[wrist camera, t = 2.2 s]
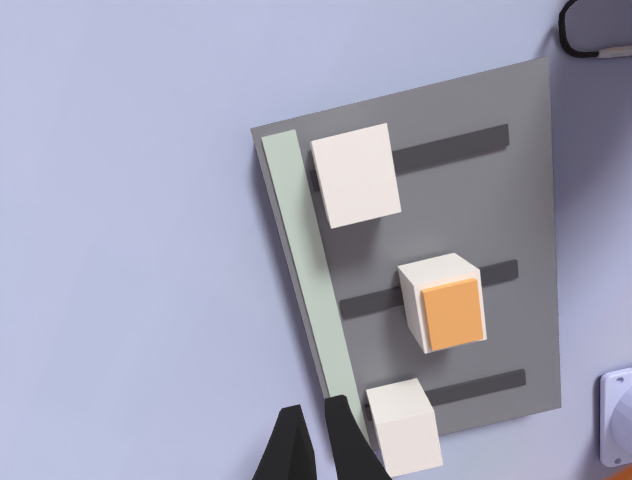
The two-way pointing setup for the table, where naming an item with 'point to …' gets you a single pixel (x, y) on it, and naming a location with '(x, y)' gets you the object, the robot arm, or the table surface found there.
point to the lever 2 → (405, 427)
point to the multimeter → (602, 53)
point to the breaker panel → (431, 245)
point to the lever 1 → (356, 175)
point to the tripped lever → (443, 302)
